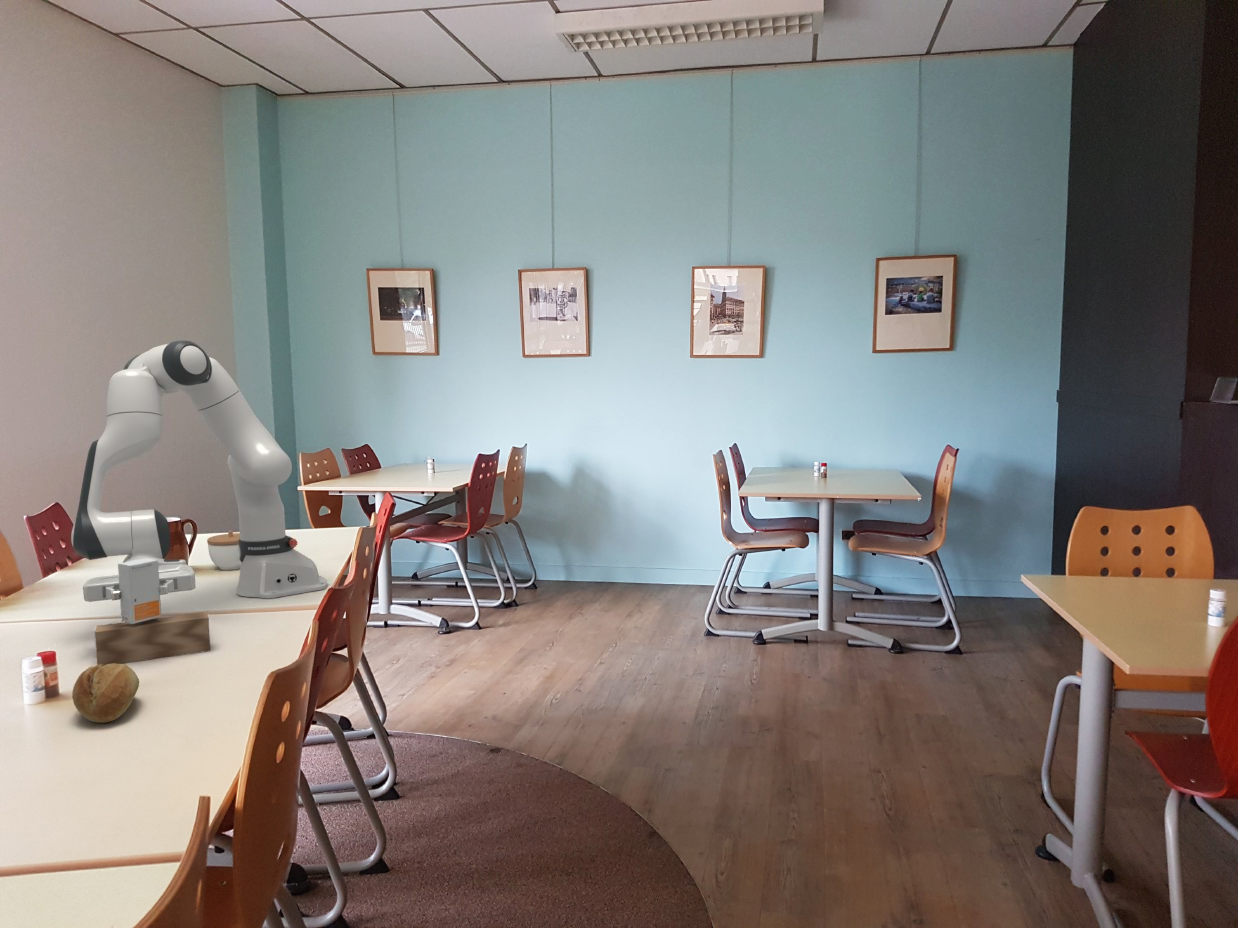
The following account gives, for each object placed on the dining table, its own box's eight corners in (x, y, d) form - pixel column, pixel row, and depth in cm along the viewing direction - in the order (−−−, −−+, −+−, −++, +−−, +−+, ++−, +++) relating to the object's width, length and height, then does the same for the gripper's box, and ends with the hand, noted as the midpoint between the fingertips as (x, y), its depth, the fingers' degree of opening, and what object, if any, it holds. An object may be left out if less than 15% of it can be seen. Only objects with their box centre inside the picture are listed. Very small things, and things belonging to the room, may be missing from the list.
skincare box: (132, 624, 166) (128, 565, 165) (121, 621, 169) (116, 563, 167) (163, 617, 172) (158, 559, 170) (151, 613, 174) (147, 557, 172)
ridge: (209, 643, 179) (207, 611, 178) (210, 650, 174) (208, 617, 174) (99, 659, 169) (96, 625, 169) (97, 666, 165) (94, 632, 164)
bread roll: (69, 734, 134) (65, 686, 133) (79, 701, 148) (76, 657, 147) (138, 722, 139) (134, 675, 138) (142, 692, 152) (139, 649, 151)
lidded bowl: (264, 565, 251) (262, 529, 250) (225, 574, 240) (223, 536, 239) (239, 560, 258) (237, 525, 257) (200, 569, 247) (197, 532, 246)
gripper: (83, 569, 176) (77, 584, 164) (193, 558, 185) (194, 571, 173) (86, 598, 176) (80, 616, 164) (195, 586, 186) (196, 601, 174)
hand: (139, 593), depth 169 cm, fingers closed on skincare box, 7 cm apart
